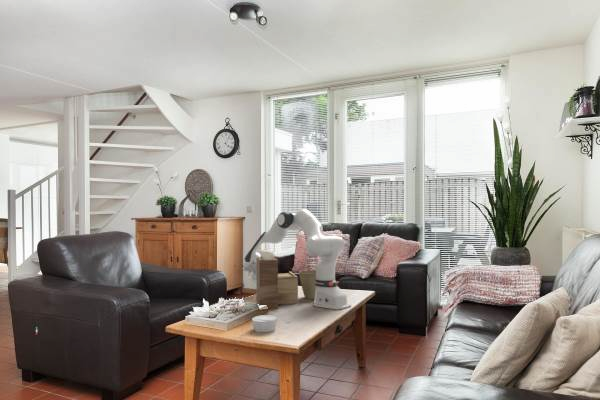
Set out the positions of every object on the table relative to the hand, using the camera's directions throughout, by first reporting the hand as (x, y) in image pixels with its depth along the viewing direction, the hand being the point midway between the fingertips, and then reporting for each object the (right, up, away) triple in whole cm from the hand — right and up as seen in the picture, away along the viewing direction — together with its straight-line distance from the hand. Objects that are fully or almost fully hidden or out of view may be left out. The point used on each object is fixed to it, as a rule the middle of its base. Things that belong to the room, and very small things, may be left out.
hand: (260, 261), depth 261 cm
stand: (+10, -22, -14) cm, 28 cm away
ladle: (+5, +5, -20) cm, 21 cm away
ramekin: (+8, -22, -68) cm, 72 cm away
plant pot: (+31, -23, -1) cm, 39 cm away
